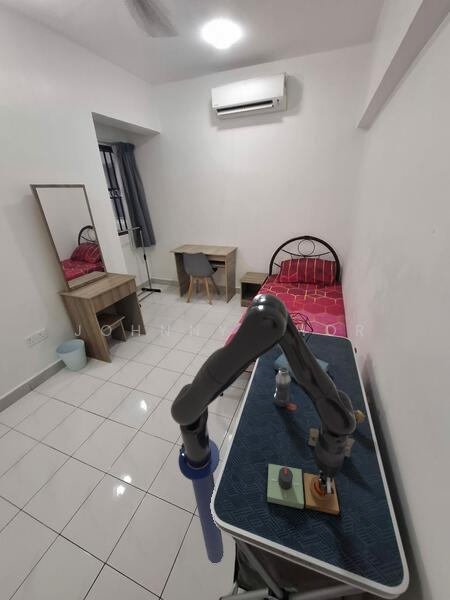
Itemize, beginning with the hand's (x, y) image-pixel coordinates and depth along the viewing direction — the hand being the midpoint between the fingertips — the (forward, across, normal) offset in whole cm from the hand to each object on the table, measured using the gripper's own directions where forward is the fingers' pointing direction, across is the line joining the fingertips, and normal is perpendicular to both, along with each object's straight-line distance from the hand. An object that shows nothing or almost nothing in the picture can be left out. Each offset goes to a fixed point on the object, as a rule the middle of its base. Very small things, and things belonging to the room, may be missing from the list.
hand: (321, 485), depth 75 cm
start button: (+2, 0, 0) cm, 2 cm away
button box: (+5, 0, 0) cm, 5 cm away
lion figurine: (+6, -30, +14) cm, 34 cm away
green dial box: (+5, 0, -11) cm, 12 cm away
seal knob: (+2, 0, -11) cm, 11 cm away
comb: (+6, -15, +5) cm, 17 cm away
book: (+5, -57, -2) cm, 57 cm away
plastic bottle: (+5, -34, -12) cm, 36 cm away
